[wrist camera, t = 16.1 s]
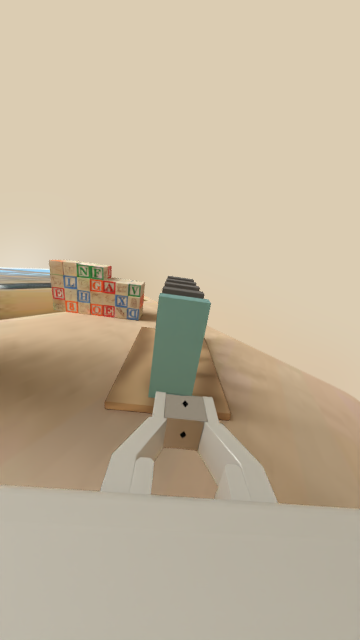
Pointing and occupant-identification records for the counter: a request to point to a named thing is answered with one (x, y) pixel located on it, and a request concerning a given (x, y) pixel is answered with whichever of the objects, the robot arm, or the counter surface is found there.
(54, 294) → the stack of blocks
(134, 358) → the oak board
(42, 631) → the robot arm
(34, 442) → the counter surface
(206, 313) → the domino
